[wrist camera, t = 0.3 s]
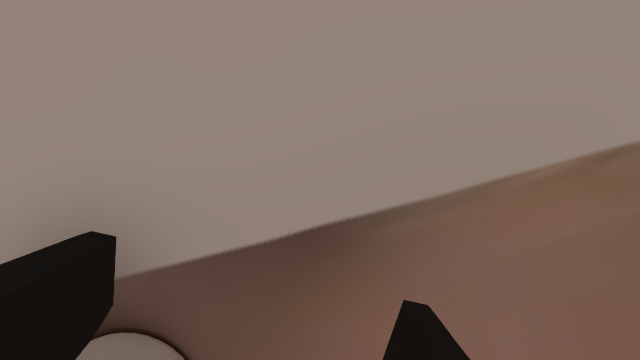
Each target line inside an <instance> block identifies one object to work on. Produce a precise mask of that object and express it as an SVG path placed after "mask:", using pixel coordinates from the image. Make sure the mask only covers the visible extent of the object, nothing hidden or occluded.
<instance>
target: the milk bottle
mask: <svg viewBox="0 0 640 360" xmlns="http://www.w3.org/2000/svg"><path fill="white" fill-rule="evenodd" d="M76 360H185V359H184V358H183V357H182V356H181V355H180V354H179V353H178V352H177V351H175V350H174V349H173V348H172V347H171V346H169V345H167V344H165V343H164V342H162V341H161V340H158V339H155V338H153V337H150V336H148V335H142V334H138V333H123V332H121V333H115V334H108V335H105V336H102V337H99V338H96V339H94V340H91V341H90V342H89V344H88V345H87V346H86V347H85V349H84V350H83V351H82V352H81V354H80V355H79V356H78V357H77V359H76Z"/></svg>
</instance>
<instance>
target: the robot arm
mask: <svg viewBox="0 0 640 360" xmlns="http://www.w3.org/2000/svg"><path fill="white" fill-rule="evenodd" d="M115 253H116V237H115V236H111V235H106V234H102V233H97V232H93V231H91V232H88V233H84V234H81V235H78V236H76V237H73V238H70V239H67V240H64V241H62V242H59V243H57V244H54V245H51V246H49V247H46V248H43V249H41V250H38V251H35V252H33V253H30V254H27V255H25V256H22V257H20V258H17V259H14V260H12V261H9V262H6V263H3V264H1V265H0V360H76V359H77V357H78V356H79V355H80V354H81V352H82V351H83V350H84V349H85V347H86V346H87V345H88V344H89V342H90V341H91V339H92V338H93V336H94V335H95V333H96V332H97V330H98V329H99V327H100V325H101V324H102V322H103V321H104V319H105V317H106V316H107V314H108V312H109V311H110V309H111V307H112V306H113V296H114V274H115ZM383 360H470V359H469V358H468V356H467V355H466V354H465V353H464V351H463V350H462V349H461V347H460V346H459V345H458V343H457V342H456V341H455V340H454V338H453V337H452V336H451V334H450V333H449V332H448V330H447V329H446V328H445V326H444V325H443V324H442V322H441V321H440V320H439V318H438V317H437V316H436V315H435V313H434V312H433V311H432V310H431V308H430V307H429V306H428V305H425V304H420V303H416V302H411V301H407V300H404V301H403V303H402V306H401V309H400V312H399V315H398V318H397V320H396V323H395V326H394V329H393V332H392V335H391V337H390V340H389V343H388V346H387V349H386V352H385V354H384V357H383Z"/></svg>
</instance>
